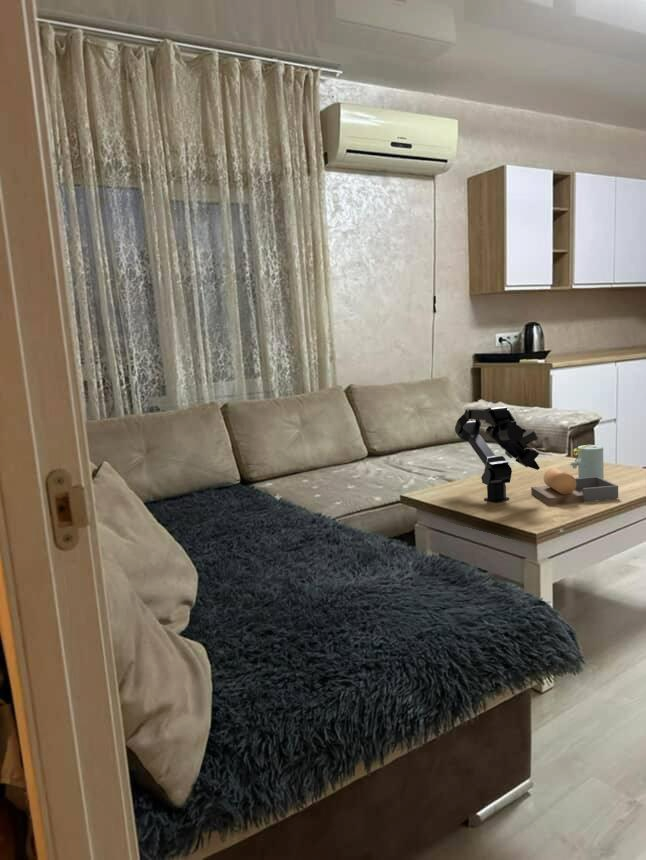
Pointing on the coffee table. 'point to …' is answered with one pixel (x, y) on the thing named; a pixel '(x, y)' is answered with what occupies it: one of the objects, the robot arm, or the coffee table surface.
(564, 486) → the roller
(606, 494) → the tray
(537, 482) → the coffee table surface
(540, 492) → the board
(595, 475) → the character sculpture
